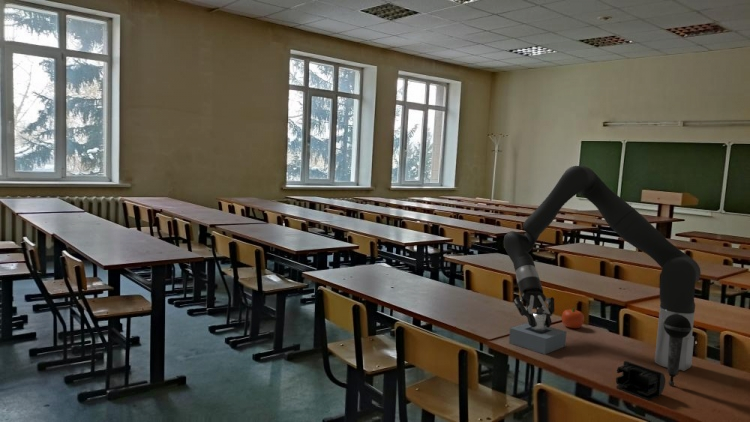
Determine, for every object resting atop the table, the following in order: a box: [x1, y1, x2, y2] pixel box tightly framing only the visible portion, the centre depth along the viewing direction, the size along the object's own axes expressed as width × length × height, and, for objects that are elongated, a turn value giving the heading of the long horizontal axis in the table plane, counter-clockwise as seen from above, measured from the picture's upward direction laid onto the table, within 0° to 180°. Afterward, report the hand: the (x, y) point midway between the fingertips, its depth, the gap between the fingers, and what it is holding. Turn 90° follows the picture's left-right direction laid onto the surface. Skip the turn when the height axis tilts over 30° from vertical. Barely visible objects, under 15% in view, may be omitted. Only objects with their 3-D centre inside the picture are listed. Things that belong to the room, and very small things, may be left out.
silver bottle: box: [531, 307, 546, 334], centre depth 180 cm, size 4×4×11 cm
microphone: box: [663, 314, 692, 387], centre depth 150 cm, size 7×7×20 cm
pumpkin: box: [561, 307, 585, 329], centre depth 202 cm, size 8×8×7 cm
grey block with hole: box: [508, 322, 567, 355], centre depth 180 cm, size 13×13×5 cm
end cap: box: [615, 360, 666, 401], centre depth 145 cm, size 10×7×7 cm
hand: (541, 326), depth 178 cm, fingers open, 4 cm apart
